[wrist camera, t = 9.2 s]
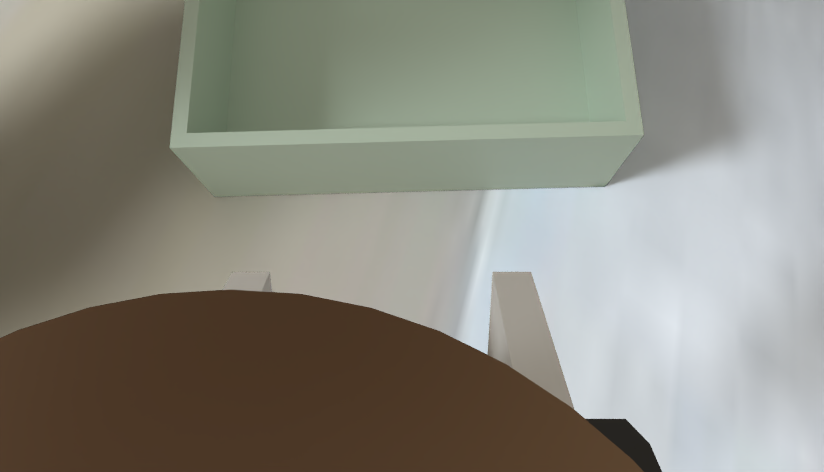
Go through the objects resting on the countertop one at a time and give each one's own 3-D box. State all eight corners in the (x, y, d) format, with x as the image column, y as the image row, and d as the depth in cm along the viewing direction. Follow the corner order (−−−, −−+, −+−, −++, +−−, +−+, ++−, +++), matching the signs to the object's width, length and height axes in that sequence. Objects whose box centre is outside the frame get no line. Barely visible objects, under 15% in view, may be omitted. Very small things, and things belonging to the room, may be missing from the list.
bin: (214, 196, 38) (169, 147, 32) (236, -90, 45) (203, -181, 38) (605, 186, 38) (644, 134, 31) (570, -101, 44) (596, -194, 38)
